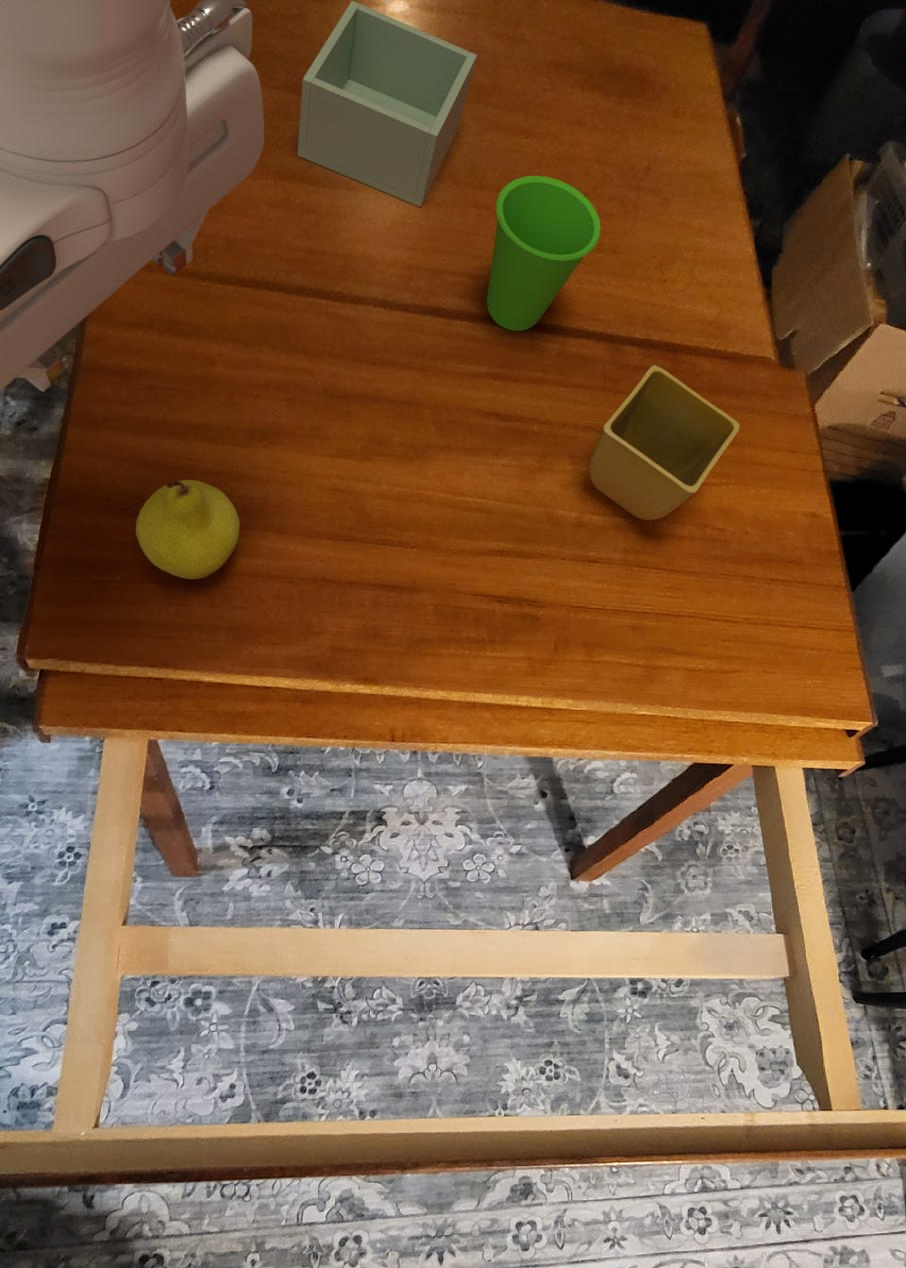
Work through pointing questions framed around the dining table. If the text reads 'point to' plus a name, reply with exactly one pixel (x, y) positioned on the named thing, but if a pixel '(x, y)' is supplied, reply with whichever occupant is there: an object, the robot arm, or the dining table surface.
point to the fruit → (188, 529)
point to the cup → (537, 247)
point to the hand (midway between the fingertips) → (108, 315)
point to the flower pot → (659, 446)
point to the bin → (383, 103)
